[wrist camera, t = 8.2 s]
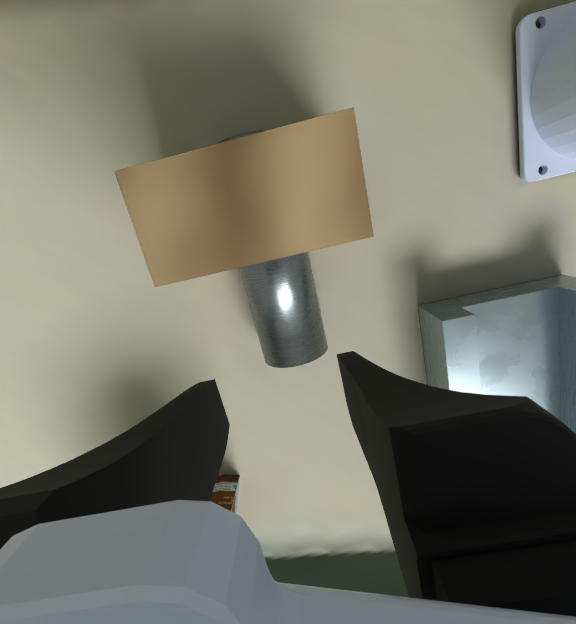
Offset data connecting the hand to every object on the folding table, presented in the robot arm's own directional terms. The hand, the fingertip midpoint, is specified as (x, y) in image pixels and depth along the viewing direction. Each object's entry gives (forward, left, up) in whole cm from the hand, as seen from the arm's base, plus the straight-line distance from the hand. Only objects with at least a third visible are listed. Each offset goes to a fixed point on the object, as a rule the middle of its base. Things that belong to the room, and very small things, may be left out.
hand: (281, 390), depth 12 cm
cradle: (-13, +8, -9) cm, 18 cm away
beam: (0, -7, -9) cm, 12 cm away
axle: (0, -4, -10) cm, 10 cm away
